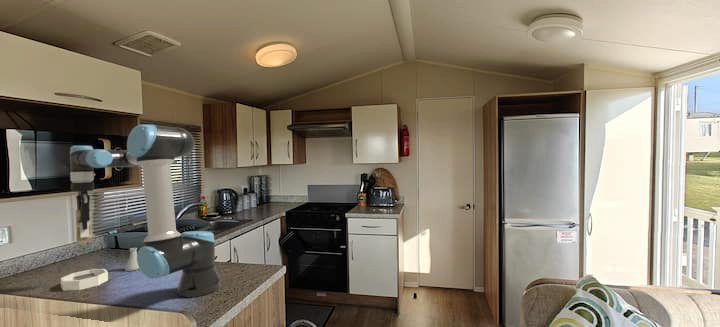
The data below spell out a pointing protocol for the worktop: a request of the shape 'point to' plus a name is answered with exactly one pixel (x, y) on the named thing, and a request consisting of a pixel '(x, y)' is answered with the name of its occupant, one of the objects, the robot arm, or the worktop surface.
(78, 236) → the wooden block
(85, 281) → the white octagonal tray
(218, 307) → the worktop surface
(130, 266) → the flask
